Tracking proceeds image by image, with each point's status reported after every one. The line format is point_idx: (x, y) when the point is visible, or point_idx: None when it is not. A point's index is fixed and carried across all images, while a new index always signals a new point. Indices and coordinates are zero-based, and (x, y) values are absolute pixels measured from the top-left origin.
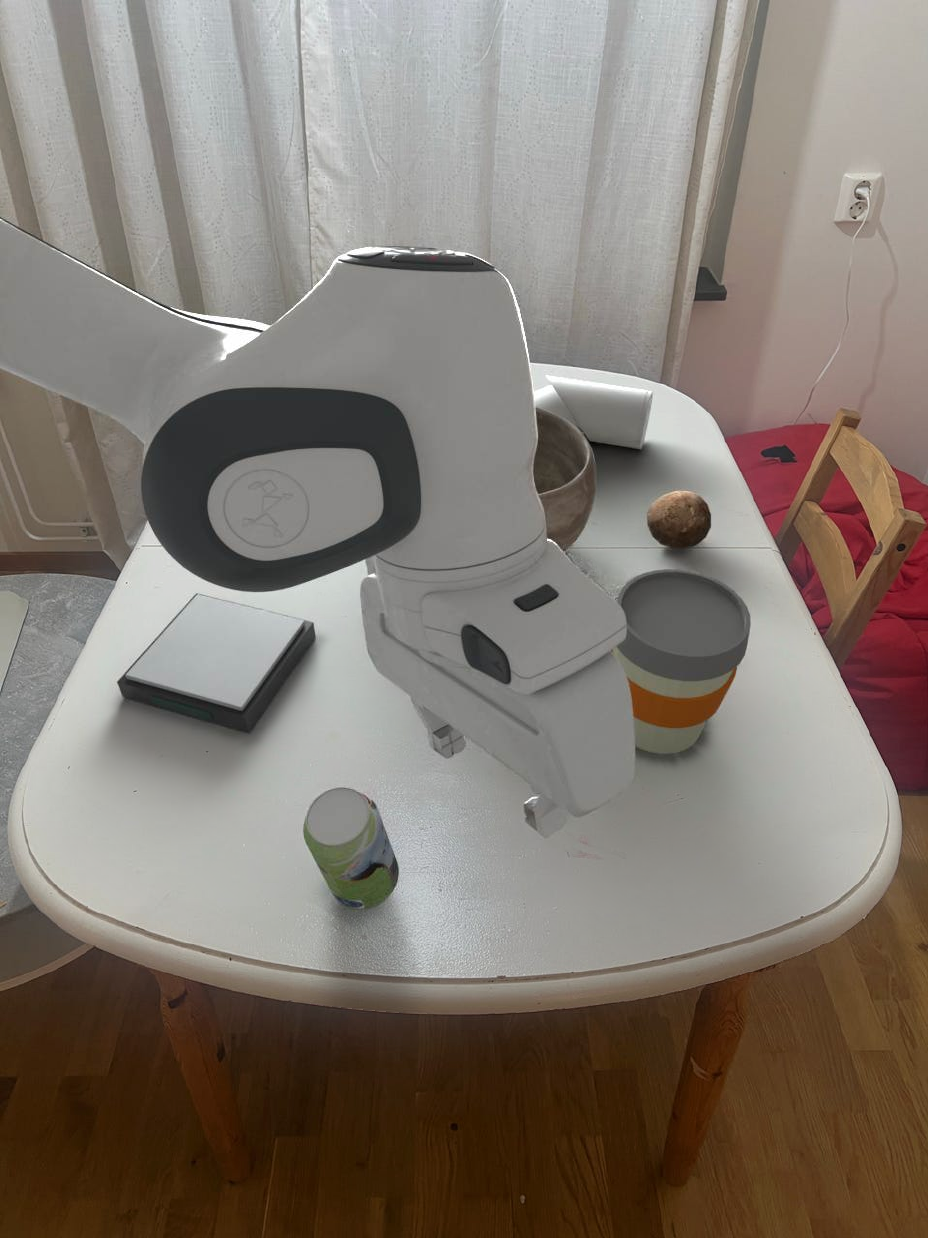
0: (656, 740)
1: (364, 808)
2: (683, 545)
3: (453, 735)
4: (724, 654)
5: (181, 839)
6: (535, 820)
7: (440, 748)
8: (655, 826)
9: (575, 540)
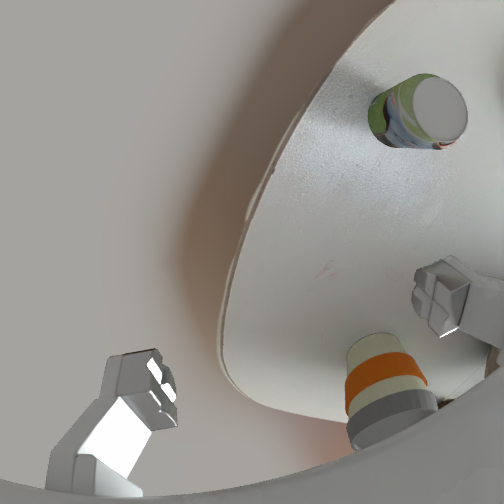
0: (359, 351)
1: (436, 135)
2: (438, 407)
3: (439, 313)
4: (352, 438)
5: (470, 35)
6: (117, 378)
7: (437, 276)
8: (315, 317)
9: (484, 376)
